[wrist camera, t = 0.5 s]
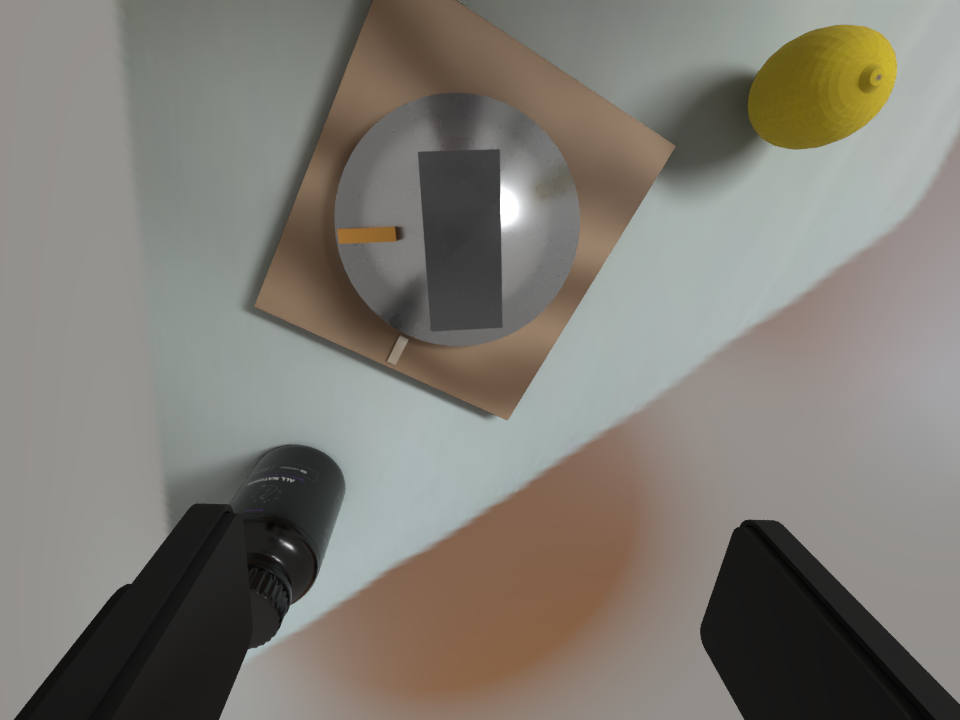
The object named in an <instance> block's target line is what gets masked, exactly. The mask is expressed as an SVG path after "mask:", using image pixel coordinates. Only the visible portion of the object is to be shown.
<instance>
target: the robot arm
mask: <svg viewBox="0 0 960 720" xmlns="http://www.w3.org/2000/svg"><path fill="white" fill-rule="evenodd" d="M252 631H253V620H252V609H251V598H250V588H249V577H248V567H247V556H246V545H245V535H244V524H243V517H242V515H241V514H240V513H233V509H232V507H231V505H228V504H194V505H192V506H191V507H190V508H189V509H188V511H187V512H186V513H185V515H184V516H183V517H182V519H181V520H180V521H179V523H178V524H177V525H176V526H175V528H174V529H173V530H172V532H171V533H170V534H169V536H168V537H167V538H166V540H165V541H164V542H163V543H162V545H161V546H160V547H159V549H158V550H157V551H156V553H155V554H154V555H153V557H152V558H151V559H150V560H149V562H148V563H147V564H146V566H145V567H144V569H143V570H142V571H141V572H140V574H139V575H138V576H137V577H136V579H135V580H134V581H133V583H132V584H126V585H124V586H123V587H121V588H119V589H118V590H117V591H116V592H115V593H114V594H113V595H112V596H111V597H110V599H109V600H108V601H107V602H106V604H105V605H104V606H103V608H102V609H101V610H100V611H99V613H98V614H97V615H96V616H95V618H94V619H93V620H92V621H91V623H90V624H89V625H88V627H87V628H86V629H85V630H84V632H83V633H82V634H81V635H80V637H79V638H78V639H77V640H76V642H75V643H74V644H73V645H72V647H71V648H70V649H69V651H68V652H67V653H66V654H65V656H64V657H63V658H62V659H61V661H60V662H59V663H58V664H57V666H56V667H55V668H54V670H53V671H52V672H51V673H50V675H49V676H48V677H47V678H46V680H45V681H44V682H43V684H42V685H41V686H40V687H39V688H38V690H37V691H36V692H35V694H34V695H33V696H32V698H31V699H30V700H29V701H28V702H27V704H26V705H25V707H23V709H22V710H21V711H20V713H19V714H18V715H17V716H16V718H15V719H14V720H219V718H220V716H221V713H222V711H223V708H224V706H225V704H226V701H227V699H228V696H229V694H230V691H231V689H232V686H233V684H234V682H235V679H236V677H237V674H238V672H239V670H240V667H241V665H242V662H243V660H244V657H245V655H246V653H247V650H248V647H249V645H250V641H251V637H252ZM700 634H701V640H702V644H703V646H704V648H705V650H706V652H707V654H708V655H709V657H710V659H711V661H712V663H713V664H714V666H715V668H716V670H717V671H718V673H719V675H720V677H721V679H722V680H723V682H724V684H725V686H726V688H727V689H728V691H729V693H730V695H731V696H732V698H733V700H734V702H735V704H736V705H737V707H738V709H739V711H740V712H741V714H742V716H743V718H744V720H960V704H959V703H958V702H957V701H956V700H955V699H954V698H953V697H952V696H951V695H950V694H949V693H948V692H947V691H946V690H945V689H944V688H943V687H942V686H941V685H940V684H939V683H938V682H937V681H936V680H935V679H934V678H933V677H932V676H931V675H930V674H929V673H928V672H927V671H926V670H925V669H924V668H923V667H922V666H921V665H920V664H919V663H918V662H917V661H916V660H915V659H914V658H913V657H912V656H911V655H910V654H909V652H908V651H907V650H905V648H904V647H903V646H902V645H901V644H900V643H899V642H898V641H897V640H896V639H895V638H894V637H893V636H892V635H891V634H890V633H888V631H887V630H886V629H885V628H884V627H883V626H882V625H881V624H880V623H879V622H878V621H877V620H876V619H875V618H874V617H873V616H872V615H871V614H870V613H869V612H868V611H867V610H866V609H865V608H864V607H863V606H862V605H861V604H860V603H859V602H858V601H857V600H856V599H855V598H854V597H853V596H852V595H851V594H850V593H849V592H848V591H847V590H846V589H845V588H844V587H843V586H842V585H841V584H840V582H838V581H837V579H835V577H834V576H833V575H832V574H831V573H830V572H828V570H827V569H826V568H825V567H824V566H823V565H822V564H821V563H820V562H819V561H818V560H817V559H816V558H815V557H814V556H813V555H812V554H811V553H810V552H809V551H808V550H807V549H806V548H805V547H804V546H803V545H802V544H801V543H800V542H799V541H798V540H797V539H796V538H795V537H794V536H793V535H792V534H791V533H790V532H789V531H788V530H787V529H786V528H785V527H784V526H783V525H782V524H781V523H779V522H777V521H774V520H745V521H744V522H742V523H741V525H740V527H737V528H736V529H734V531H733V533H732V536H731V539H730V542H729V545H728V548H727V551H726V554H725V557H724V560H723V562H722V565H721V568H720V571H719V574H718V577H717V580H716V583H715V586H714V589H713V592H712V595H711V597H710V600H709V603H708V606H707V609H706V613H705V615H704V618H703V621H702V624H701V628H700Z"/></svg>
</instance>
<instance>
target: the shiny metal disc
mask: <svg viewBox="0 0 960 720" xmlns="http://www.w3.org/2000/svg"><path fill="white" fill-rule="evenodd" d="M334 222H335V235H336V241H337V246H338V251H339V254H340V257H341V260H342V263H343V266H344V269H345V271H346V273H347V275H348V277H349V279H350V281H351V283H352V285H353V286H354V288H355V289H356V291H357V292H358V294H359V295H360V297H361V298H362V299H363V300H364V301H365V303H366V304H367V305H368V306H369V307H370V308H371V309H372V310H373V311H374V312H375V313H376V314H377V315H378V316H379V317H380V318H381V319H383V320H384V321H386V322H387V323H388V324H390V325H391V326H392V327H394V328H396V329H397V330H399V331H401V332H403V333H405V334H407V335H409V336H411V337H414V338H416V339H419V340H422V341H425V342H429V343H433V344H438V345H446V346H471V345H479V344H483V343H488V342H492V341H495V340H498V339H500V338H503V337H506V336H508V335H510V334H512V333H514V332H516V331H517V330H519V329H521V328H522V327H524V326H525V325H527V324H528V323H530V322H531V321H532V320H534V319H535V318H536V317H537V316H538V315H539V314H540V313H541V312H543V311H544V310H545V308H546V307H547V306H548V305H549V304H550V303H551V302H552V300H553V299H554V298H555V296H556V295H557V293H558V292H559V290H560V289H561V288H562V286H563V284H564V282H565V280H566V278H567V276H568V274H569V272H570V269H571V267H572V264H573V261H574V258H575V254H576V250H577V246H578V241H579V231H580V208H579V202H578V195H577V191H576V187H575V183H574V180H573V177H572V174H571V172H570V170H569V167H568V165H567V162H566V161H565V159H564V157H563V155H562V154H561V152H560V150H559V149H558V147H557V146H556V144H555V143H554V142H553V141H552V139H551V138H550V137H549V135H548V134H547V133H546V132H545V131H544V130H543V129H542V128H541V127H540V126H539V125H538V124H537V123H536V122H535V121H533V120H532V119H531V118H529V117H528V116H526V115H525V114H524V113H522V112H521V111H519V110H518V109H516V108H514V107H512V106H510V105H508V104H506V103H504V102H501V101H499V100H496V99H493V98H490V97H487V96H482V95H477V94H472V93H455V92H452V93H442V94H434V95H430V96H426V97H422V98H418V99H416V100H414V101H411V102H409V103H406V104H404V105H402V106H400V107H398V108H397V109H395V110H394V111H392V112H390V113H389V114H387V115H386V116H385V117H383V118H382V119H381V120H380V121H378V122H377V123H376V124H375V125H374V126H373V127H372V128H371V129H370V130H369V131H368V132H367V133H366V134H365V135H364V137H363V138H362V139H361V140H360V142H359V143H358V145H357V146H356V148H355V149H354V151H353V152H352V154H351V156H350V158H349V160H348V162H347V164H346V166H345V168H344V170H343V173H342V176H341V179H340V182H339V185H338V191H337V196H336V201H335V216H334Z"/></svg>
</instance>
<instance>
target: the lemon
mask: <svg viewBox="0 0 960 720" xmlns="http://www.w3.org/2000/svg"><path fill="white" fill-rule="evenodd" d="M896 75H897V62H896V56H895V52H894V50H893V48H892V46H891V44H890V42H889V41H888V40H887V39H886V38H885V37H884V36H883V35H882V34H880V33H879V32H877V31H875V30H872V29H870V28H867V27H864V26H854V25H835V26H830V27H825V28H821V29H816V30H813V31H810V32H808V33H805V34H803V35H801V36H799V37H798V38H796V39H794V40H792V41H790V42H788V43H787V44H785V45H784V46H783V47H781V48H780V49H779V50H778V51H777V52H776V53H774V54H773V55H772V56H771V57H770V58H769V59H768V60H767V61H766V63H765V64H764V65H763V67H762V68H761V69H760V70H759V72H758V73H757V75H756V77H755V79H754V81H753V83H752V86H751V89H750V93H749V97H748V114H749V119H750V122H751V124H752V126H753V128H754V130H755V131H756V132H757V133H758V135H759V136H760V137H761V138H762V139H764V140H765V141H767V142H769V143H771V144H773V145H775V146H778V147H783V148H788V149H808V148H816V147H821V146H824V145H827V144H830V143H832V142H835V141H838V140H841V139H843V138H845V137H847V136H849V135H851V134H852V133H854V132H856V131H857V130H859V129H860V128H862V127H863V126H865V125H866V124H867V123H868V122H869V121H870V120H871V119H872V118H873V117H874V116H876V115H877V113H878V112H879V111H880V110H881V108H882V107H883V106H884V104H885V103H886V102H887V100H888V98H889V96H890V93H891V91H892V89H893V87H894V83H895V79H896Z"/></svg>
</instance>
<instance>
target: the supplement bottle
mask: <svg viewBox="0 0 960 720" xmlns="http://www.w3.org/2000/svg"><path fill="white" fill-rule="evenodd" d="M344 494H345V480H344V476H343V474H342V472H341V470H340V468H339V466H338V465H337V464H336V463H335V461H334V460H333V459H332V458H330V457H329V456H328V455H326V454H325V453H323V452H321V451H319V450H317V449H315V448H312V447H308V446H302V445H289V446H283V447H279V448H277V449H274V450H272V451H270V452H269V453H267V454H266V455H264V456H263V457H262V458H261V459H260V460H259V461H258V463H257V464H256V465H255V467H254V468H253V470H252V471H251V472H250V474H249V475H248V477H247V478H246V480H245V481H244V483H243V484H242V486H241V487H240V489H239V490H238V492H237V493H236V495H235V496H234V498H233V499H232V500H231V502H230V503H229V505H231V507H232V509H233V513H240V514H241V515H242V517H243V524H244V535H245V545H246V556H247V567H248V577H249V588H250V598H251V609H252V620H253V631H252V637H251V641H250V645H249V647H248V649H250V648H257V647H258V646H260V645H264V644H265V643H266V642H268V641H270V640H271V638H272V637H274V636H275V635H276V633H277V631H278V630H279V628H280V626H281V623H282V621H283V618H284V616H285V615H286V613H287V611H288V609H289V607H290V605H292V604H294V603H295V602H297V601H298V600H300V599H301V598H302V597H303V596H304V595H305V594H306V593H307V592H308V591H309V590H310V589H311V587H312V586H313V584H314V582H315V580H316V578H317V576H318V573H319V570H320V567H321V564H322V561H323V558H324V556H325V553H326V550H327V547H328V544H329V541H330V538H331V535H332V532H333V529H334V526H335V523H336V520H337V517H338V514H339V511H340V508H341V505H342V502H343V498H344Z"/></svg>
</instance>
